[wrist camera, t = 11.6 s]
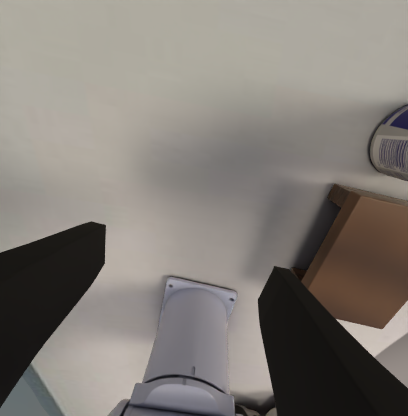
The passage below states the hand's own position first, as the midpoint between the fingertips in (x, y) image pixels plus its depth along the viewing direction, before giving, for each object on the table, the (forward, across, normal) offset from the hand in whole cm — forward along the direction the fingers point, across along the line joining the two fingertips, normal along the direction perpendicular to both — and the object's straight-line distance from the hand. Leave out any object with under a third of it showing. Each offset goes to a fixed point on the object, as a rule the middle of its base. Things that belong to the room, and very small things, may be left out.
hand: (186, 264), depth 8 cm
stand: (+10, -14, +2) cm, 18 cm away
